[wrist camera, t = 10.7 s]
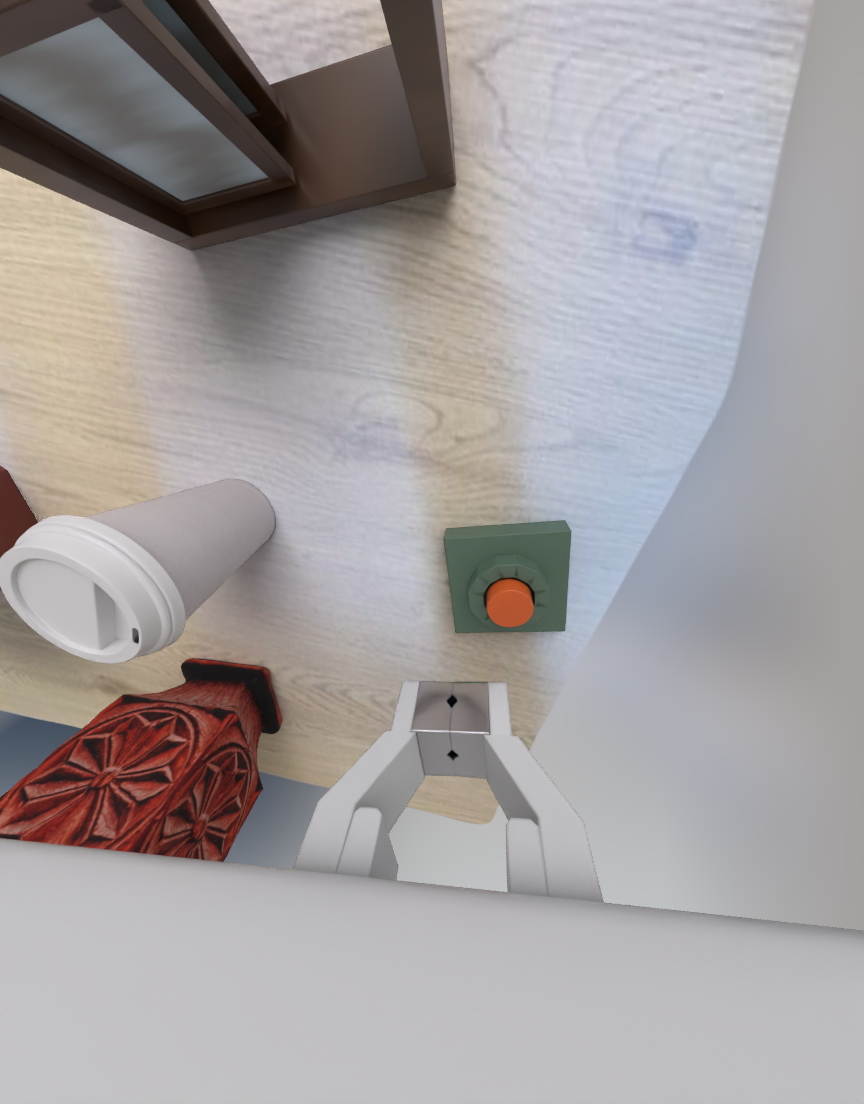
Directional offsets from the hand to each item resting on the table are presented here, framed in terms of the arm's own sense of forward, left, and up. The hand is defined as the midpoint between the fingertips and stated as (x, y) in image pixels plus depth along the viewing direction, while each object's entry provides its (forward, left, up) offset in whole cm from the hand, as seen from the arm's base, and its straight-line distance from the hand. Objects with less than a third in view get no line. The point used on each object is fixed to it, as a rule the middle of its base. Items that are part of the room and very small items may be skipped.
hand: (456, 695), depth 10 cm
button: (-3, +8, -17) cm, 19 cm away
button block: (-3, +8, -20) cm, 22 cm away
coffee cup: (+21, 0, -21) cm, 30 cm away
